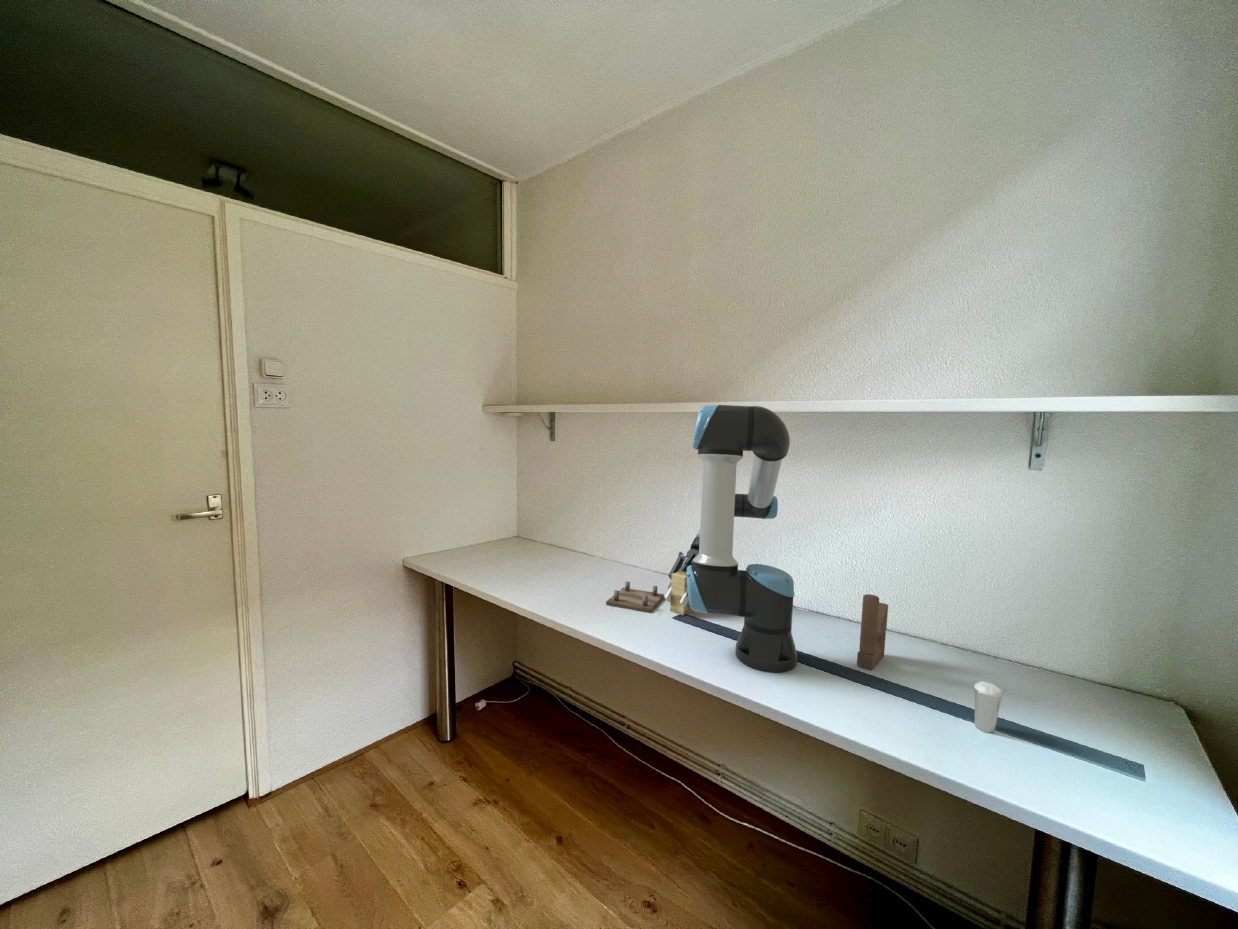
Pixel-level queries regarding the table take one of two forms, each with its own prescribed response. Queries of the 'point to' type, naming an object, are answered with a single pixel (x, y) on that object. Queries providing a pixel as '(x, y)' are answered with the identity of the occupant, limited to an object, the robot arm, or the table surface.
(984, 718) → the milkshake
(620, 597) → the peg plate
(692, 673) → the table surface
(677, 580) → the oak post
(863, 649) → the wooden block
